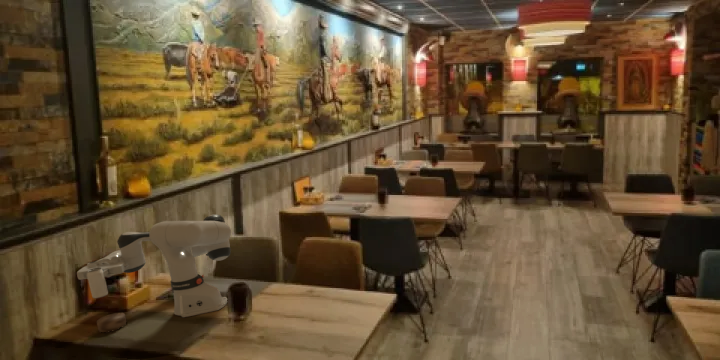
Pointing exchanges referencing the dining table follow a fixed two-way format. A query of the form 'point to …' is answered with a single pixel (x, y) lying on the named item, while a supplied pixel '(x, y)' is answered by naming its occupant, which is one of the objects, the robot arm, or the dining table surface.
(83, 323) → the dining table surface
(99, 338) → the dining table surface
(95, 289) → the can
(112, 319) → the brown rounded flat block
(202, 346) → the dining table surface
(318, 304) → the dining table surface
